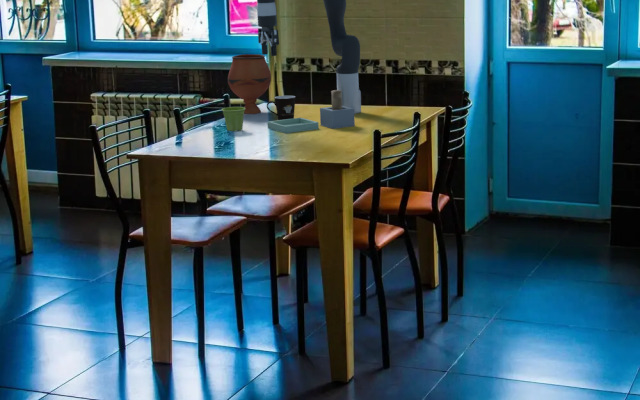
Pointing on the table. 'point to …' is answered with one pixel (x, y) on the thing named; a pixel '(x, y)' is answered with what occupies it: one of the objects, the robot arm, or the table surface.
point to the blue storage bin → (337, 117)
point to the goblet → (249, 79)
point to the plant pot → (234, 118)
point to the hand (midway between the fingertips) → (269, 55)
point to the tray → (293, 125)
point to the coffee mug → (284, 107)
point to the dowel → (336, 99)
